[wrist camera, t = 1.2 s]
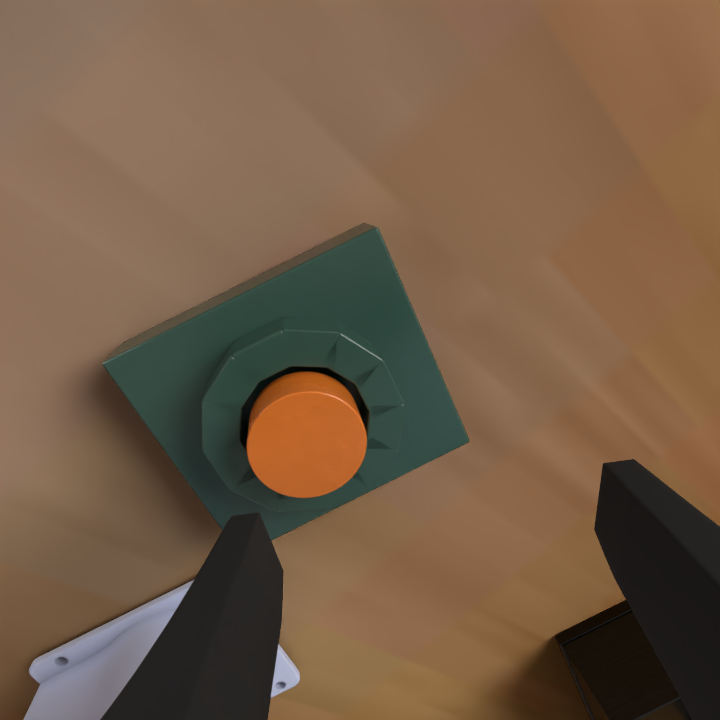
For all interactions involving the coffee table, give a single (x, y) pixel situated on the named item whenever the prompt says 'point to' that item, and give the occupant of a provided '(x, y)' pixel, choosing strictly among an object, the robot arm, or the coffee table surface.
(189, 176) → the coffee table surface
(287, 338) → the button block
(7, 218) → the coffee table surface
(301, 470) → the button
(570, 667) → the slide housing
